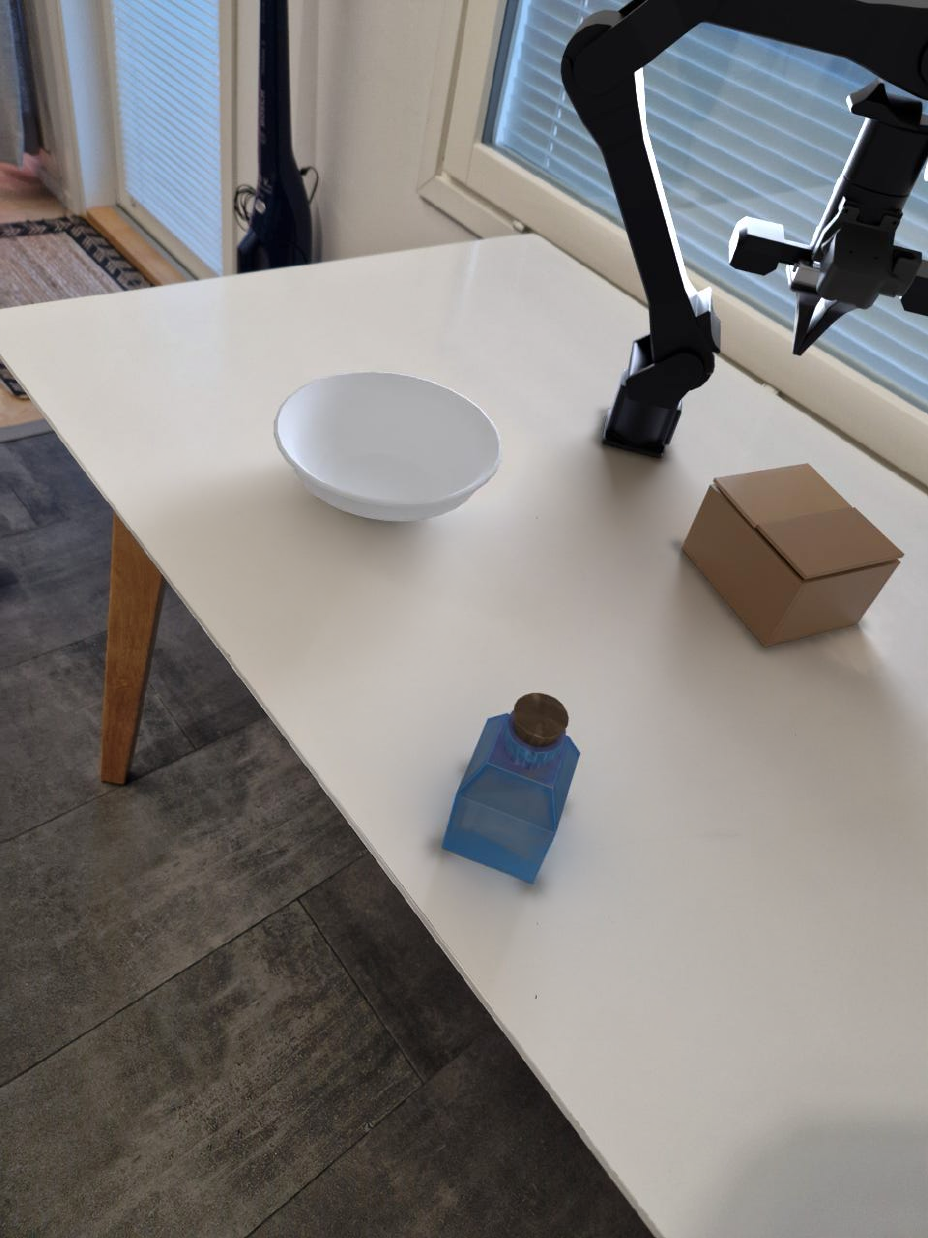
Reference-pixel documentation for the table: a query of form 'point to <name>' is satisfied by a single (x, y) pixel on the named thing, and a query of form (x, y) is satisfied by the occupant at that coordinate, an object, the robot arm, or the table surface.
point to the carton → (791, 567)
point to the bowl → (387, 444)
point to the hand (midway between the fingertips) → (795, 353)
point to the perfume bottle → (515, 788)
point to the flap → (780, 494)
